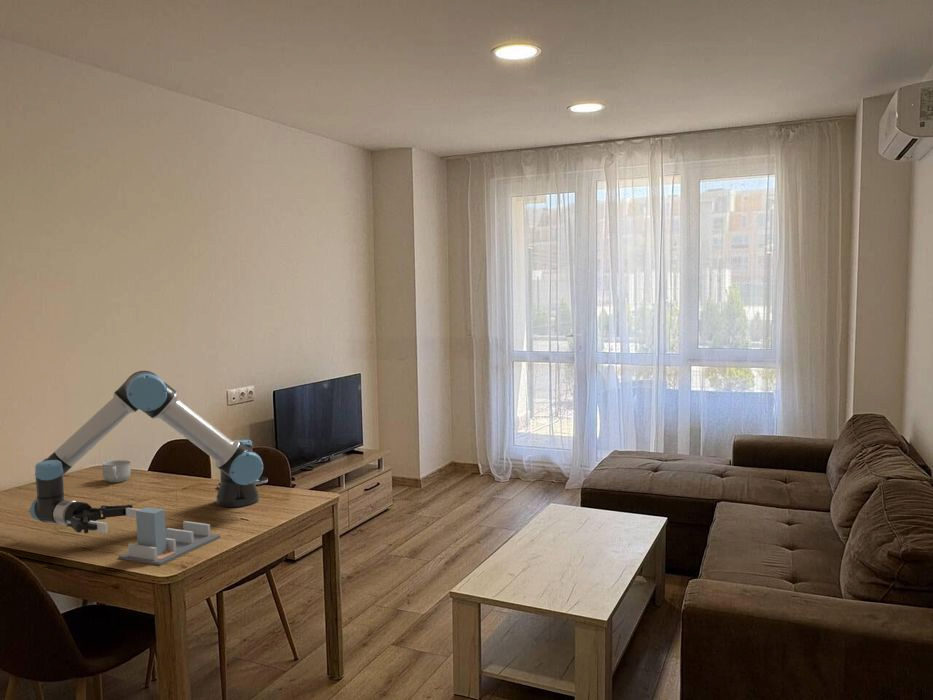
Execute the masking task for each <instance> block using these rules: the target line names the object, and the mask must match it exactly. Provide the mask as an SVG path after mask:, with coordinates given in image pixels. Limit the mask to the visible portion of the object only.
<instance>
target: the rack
mask: <svg viewBox="0 0 933 700" xmlns="http://www.w3.org/2000/svg"><path fill="white" fill-rule="evenodd" d="M182 524H183V525H182V528H183V529H179V528H178V529H177V528H171V527H167V528H166V549H167V552H166V553H164V554H161V555H159V556H157V547H151V546H144V545H138V543H128V545H127V548H128V551H127V552H123V553H122V554H119V555H118V559H120V560H126V561H131V562H139V563H143V564H144V563H145V564H150V565H154V566H155V565H156V566H162V565H165V564H166V563H169V562H171V561H174V560H176V559H178V558H179V557H182V556H184V555H186V554H188V553H191V552H193V551H195V550H197V549H199V548H202V547H203V546H205V545H207V544H210V543H211V542H215V541H216V540H219V539H221V535H220V534H216V533H215V534H214V533H211V524H210V523H209V524H208V523H204V522H195V521H189V520H188V521H187V520H184V521H182Z"/></svg>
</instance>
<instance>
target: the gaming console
mask: <svg viewBox="0 0 933 700" xmlns="http://www.w3.org/2000/svg"><path fill="white" fill-rule="evenodd" d="M268 481H269V480H268V477H266V476H260V477H259V479H258V480H256V481H255V482H254V483H255V486H256V487H258V485H259V486H263V485H267V483H269V482H268ZM220 484H221V482H219V483H218V484H217V487H218V488H219V487H220Z"/></svg>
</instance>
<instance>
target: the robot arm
mask: <svg viewBox="0 0 933 700" xmlns="http://www.w3.org/2000/svg"><path fill="white" fill-rule="evenodd" d="M138 410H140V411H141V412H143V413H145V414H146V415H147V416H148V417H150V418H151V419H152V420H153V419H154V420H155V419H161V420H162V422H164V423H166V424H167V425H168V426H170V428H173V429H174V430H175V432H177V433H179V434H181V435H182V436H183V437H184V438H185V439H187V440H188V441H189V442H191V443H192V444H193V445H194V446H196V447H197V448H199V449H200V450H201V451H202V452H204V453H205V454H206V455H208V456H209V457H211V458H212V459H213V460H214V461H215V467H216V468H218V469H219V470H220V472H219V473H220V483H221V484H220V487H218V491H217V495H216V505H217V506H219V507H224V508H237V507H239V508H240V507H245V506H250V505H253V504H256V503H257V502H258V501H260V494H259V492H258V490H257V489H258V488H257V486H255V483H254V482H255V481H256V480H258V479H259V477H262V474H263V471H264V463H263V459H262V457H261V456H260V455H259V454H258V453H256V451H253V448H254V446H253V441H252V440H251V439H234V440H232V439H231V438H229V437H228V436H227V435H226V434H225V433H223V432H222V431H220V429H218V428H217V427H215V426H214V425H213V424H211V423H210V421H209V422H208V420H206V419H205V418H204V417H202V416H201V415H199V413H198V412H196V411H195V410H194V409H192V408H190V407H189V406H188V405H187V404H186V403H185V402H183V401H181V400H180V399H179V398H178V392H177V390H176V389H174V388H173V387H171V386H170V385H169V384H168V383H166V382H165V381H164V380H163V379H162V378H161V377H159V376H158V375H157V374H155V373H154V372H152V371H150V370H138V371H136V372H133V373H132V374H131V375H130V376H128V377H127V379H125V381H124V382H123V384H121V385H120V387H119V388H117V389H116V390H115V391H114V392H113V397H112V398H111V399H110V400H109V401H108V402H107V403H106V404H105V405H104V406H102V407H101V408H100V409H98V411H97V412H96V413H94V415H93V416H91V418H89V419H88V420H87V421H86V422H85V423H84V424H83V425H82V426H81V427H80V428H78V429H77V430H76V431H75V432H74V433H73V434H72V435H70V437H69V438H68V439H66V440H65V441H64V442H63V443H62V444H61V445H60V446H59V447H58V448H57V449H56V450H55V451H54V452H52V453H51V454H50V455H49V456H48V457H46V458H44V459H42V461H40V462H37V463H36V465H34V466H35V467H34V469H35V471H34V476H35V486H36V498H35V499H34V500H33V501H32V502H31V506H30V507H29V514H30V516H31V518H32V519H33V520H35V521H39V522H42V523H50V524H56V525H57V524H58V525H63V526H66V527H70V528H72V529H73V530H74V531H75V532H77V533H81V532H82V531H83V533H84V534H89V532H90V531H91V532H100V533H106V534H107V533H108V532H109V528H108V527H109V526H108V525H109V524H108V522H102V520H106V518H116V517H124V516H125V517H126V518H132V519H136V511H137V510H140V509H141V508H134V506H133V505H132V504H127V505H126V504H125V505H124V504H123V505H101V506H100V507H98V508H97V507H92V506H91V505H90V504H89V503H88V502H84V501H76V500H69V499H65V491H64V489H65V488H64V475H65V474H66V473H68V471H70V470H71V468H73V466H75V465H76V464H77V463H78V461H80V460H81V459H82V458H83V457H84V456H85V455H87V454H88V452H89V451H91V450H92V449H93V448H94V447H95V446H96V445H97V444H99V442H101V440H103V439H104V437H106V436H107V435H108V434H109V433H110V432H112V430H114V428H116V427H117V426H118V425H119V424H120V423H121V422H123V420H124V419H126V418H127V417H128V416H129V414H132V413H136V412H137V411H138ZM100 520H101V521H100Z"/></svg>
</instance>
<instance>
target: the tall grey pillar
mask: <svg viewBox="0 0 933 700" xmlns="http://www.w3.org/2000/svg"><path fill="white" fill-rule="evenodd" d="M139 509H140V510H137V511H136V518H135V519H136V534H137V536H136V538H137V544H138V545H144V546H151V547H157V556H159V555H161V554H164V553H166V552H167V549H166V529H167V528H166V513H165V512H166V511H165V508H164V509H163V508H156V507H148V506H146V507H144V508H139Z"/></svg>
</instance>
